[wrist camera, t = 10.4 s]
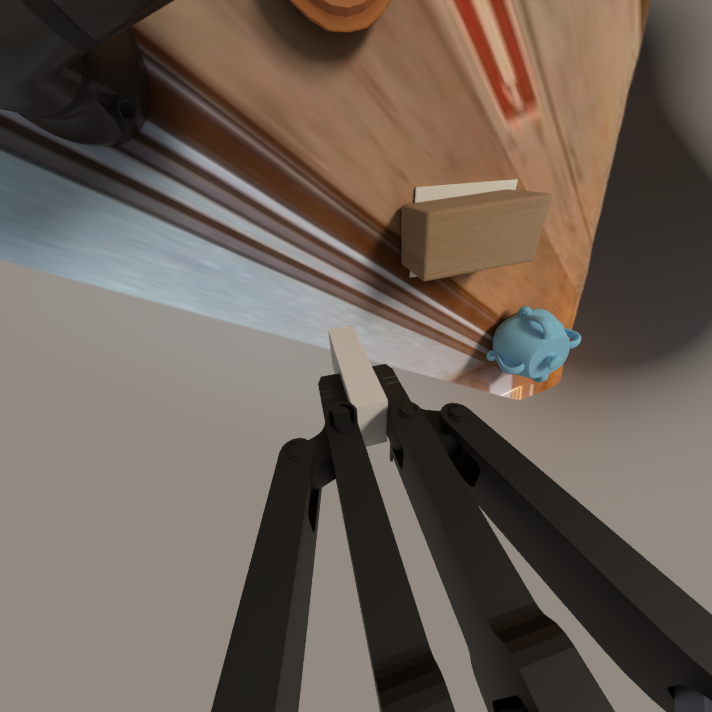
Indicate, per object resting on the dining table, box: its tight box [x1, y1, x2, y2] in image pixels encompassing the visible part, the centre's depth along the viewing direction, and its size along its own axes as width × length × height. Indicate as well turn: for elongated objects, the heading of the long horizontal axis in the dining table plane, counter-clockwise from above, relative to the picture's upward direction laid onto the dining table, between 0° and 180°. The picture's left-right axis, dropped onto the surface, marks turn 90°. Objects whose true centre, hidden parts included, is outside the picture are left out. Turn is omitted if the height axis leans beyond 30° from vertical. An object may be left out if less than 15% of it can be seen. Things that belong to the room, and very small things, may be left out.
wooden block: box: [401, 189, 551, 281], centre depth 45 cm, size 10×10×20 cm
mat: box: [409, 179, 518, 278], centre depth 50 cm, size 15×19×1 cm
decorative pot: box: [486, 306, 581, 382], centre depth 63 cm, size 16×16×14 cm
